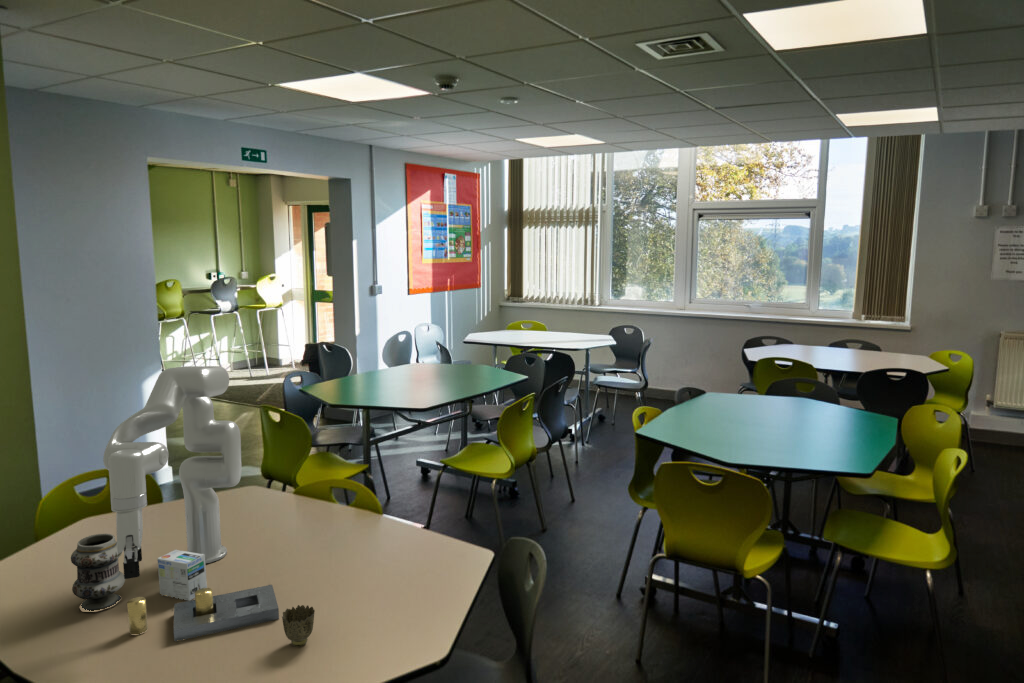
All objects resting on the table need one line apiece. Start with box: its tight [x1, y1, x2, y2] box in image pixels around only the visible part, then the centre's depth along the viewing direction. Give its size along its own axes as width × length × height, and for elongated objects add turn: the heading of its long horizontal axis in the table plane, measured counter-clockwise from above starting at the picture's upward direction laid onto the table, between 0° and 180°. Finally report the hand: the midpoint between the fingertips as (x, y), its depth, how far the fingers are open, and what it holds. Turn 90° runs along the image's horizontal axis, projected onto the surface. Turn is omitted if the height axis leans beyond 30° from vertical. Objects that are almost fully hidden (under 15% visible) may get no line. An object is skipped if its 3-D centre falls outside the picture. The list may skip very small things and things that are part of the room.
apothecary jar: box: [70, 533, 126, 611], centre depth 181 cm, size 12×12×18 cm
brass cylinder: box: [126, 596, 149, 634], centre depth 168 cm, size 4×4×8 cm
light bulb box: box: [156, 549, 208, 601], centre depth 187 cm, size 11×7×11 cm, turn 71°
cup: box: [281, 604, 316, 648], centre depth 162 cm, size 8×7×8 cm
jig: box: [173, 584, 280, 642], centre depth 175 cm, size 14×24×3 cm, turn 116°
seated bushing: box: [194, 587, 214, 617], centre depth 172 cm, size 4×4×8 cm
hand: (133, 569), depth 166 cm, fingers open, 9 cm apart
